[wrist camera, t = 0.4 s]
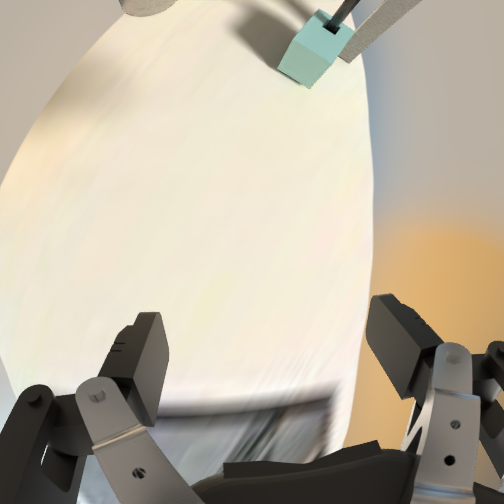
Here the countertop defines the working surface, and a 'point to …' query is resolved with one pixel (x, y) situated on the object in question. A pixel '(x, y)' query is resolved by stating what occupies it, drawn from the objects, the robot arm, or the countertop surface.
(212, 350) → the countertop surface
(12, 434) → the robot arm
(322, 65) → the sleeve
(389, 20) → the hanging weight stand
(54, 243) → the countertop surface
